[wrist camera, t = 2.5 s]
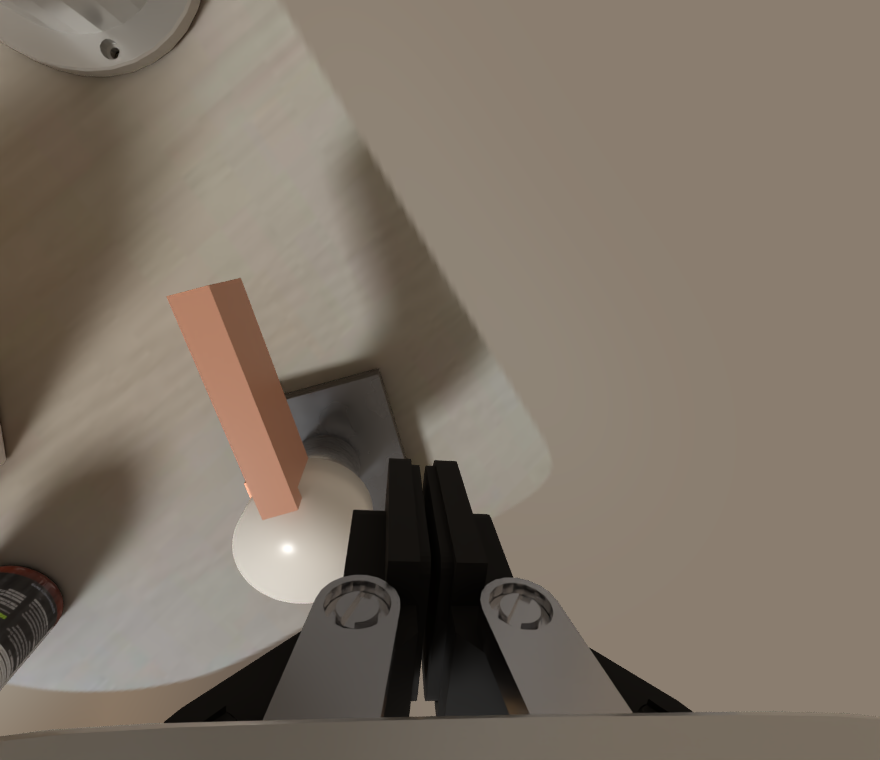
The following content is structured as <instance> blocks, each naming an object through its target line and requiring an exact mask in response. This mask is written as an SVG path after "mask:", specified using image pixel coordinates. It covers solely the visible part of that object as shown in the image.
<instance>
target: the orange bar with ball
mask: <svg viewBox="0 0 880 760" xmlns="http://www.w3.org/2000/svg"><path fill="white" fill-rule="evenodd" d="M166 297H167V299H168V301H169V304H170V306H171V308H172V311H173V313H174V315H175V318H176V320H177V322H178V325H179V327H180V329H181V332H182V334H183V336H184V339H185V341H186V343H187V346H188V348H189V350H190V353H191V355H192V357H193V360H194V362H195V364H196V367H197V369H198V371H199V374H200V376H201V378H202V381H203V383H204V385H205V388H206V390H207V392H208V395H209V397H210V399H211V402H212V404H213V406H214V409H215V411H216V413H217V416H218V418H219V420H220V423H221V425H222V427H223V430H224V432H225V434H226V437H227V439H228V441H229V444H230V446H231V448H232V451H233V453H234V455H235V458H236V460H237V462H238V465H239V467H240V469H241V472H242V474H243V476H244V479H245V481H246V483H247V486H248V488H249V490H250V493H251V495H252V497H251V499H250V500H249V502H248V504H247V506H246V508H245V510H244V512H243V514H242V515H241V517H240V519H239V521H238V523H237V525H236V528H235V531H234V535H233V541H232V549H233V556H234V560H235V563H236V565H237V567H238V569H239V571H240V573H241V574H242V576H243V577H244V578H245V580H246V581H247V582H248V583H249V584H250V585H251V586H253V587H254V588H255V589H257V590H258V591H260V592H261V593H263V594H265V595H267V596H269V597H271V598H273V599H276V600H280V601H284V602H289V603H298V604H304V603H314V601H315V598H316V597H317V595H318V594H319V592H320V591H321V589H323V588H324V587H325V586H326V585H328V584H329V583H330V582H332V581H334V580H337V579H339V578H341V577H343V575H344V568H345V561H346V555H347V548H348V541H349V534H350V528H351V521H352V514H353V510H373V505H372V500H371V496H370V494H369V491H368V489H367V488H366V486H365V484H364V483H363V482H362V480H361V479H360V478H359V477H358V476H357V475H356V474H355V473H354V472H352V471H351V470H349V469H348V468H346V467H344V466H343V465H341V464H338V463H336V462H333V461H329V460H326V459H319V458H308V456H307V453H306V451H305V448H304V445H303V443H302V440H301V437H300V435H299V432H298V429H297V427H296V424H295V421H294V419H293V416H292V413H291V411H290V408H289V405H288V403H287V400H286V397H285V395H284V392H283V389H282V387H281V384H280V381H279V379H278V376H277V373H276V371H275V368H274V365H273V363H272V360H271V357H270V355H269V352H268V349H267V347H266V344H265V341H264V339H263V336H262V333H261V331H260V328H259V325H258V323H257V320H256V317H255V315H254V312H253V309H252V307H251V304H250V301H249V299H248V296H247V293H246V291H245V288H244V285H243V283H242V280H241V278H238V279H234V280H230V281H225V282H221V283H216V284H212V285H208V286H204V287H200V288H196V289H193V290H189V291H185V292H181V293H177V294H174V295H170V296H166Z"/></svg>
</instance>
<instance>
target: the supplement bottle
mask: <svg viewBox="0 0 880 760" xmlns="http://www.w3.org/2000/svg"><path fill="white" fill-rule="evenodd" d="M62 612H63V598H62V595H61V593H60V590H59V589H58V587H57V585H56V584H55V583H54V582H53V581H51V580H50V579H49V578H48V577H47V576H45V575H43V574H42V573H40V572H38V571H35V570H32V569H29V568H25V567H22V566H1V567H0V690H1V689H2V688H3V687H4V686H5V684H6V683H7V682H8V681H9V680H10V679H11V677H12V676H13V675H14V674H15V673H16V671H17V670H18V669H19V668H20V667H21V666H22V664H23V663H24V662H25V661H26V660H27V659H28V657H29V656H30V655H31V654H32V653H33V652H34V650H35V649H36V648H37V647H38V645H39V644H40V643H41V642H42V641H43V640H44V639H45V637H46V636H47V635H48V634H49V632H50V631H51V630H52V628H53V627H54V626H55V625H56V623H57V622H58V621H59V619H60V617H61V615H62Z"/></svg>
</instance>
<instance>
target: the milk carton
mask: <svg viewBox="0 0 880 760" xmlns="http://www.w3.org/2000/svg"><path fill="white" fill-rule="evenodd" d="M5 461H6V457H5V450H4V443H3V437H2V431H1V425H0V466H1V465H2V464H4V463H5Z"/></svg>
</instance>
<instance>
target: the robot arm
mask: <svg viewBox="0 0 880 760" xmlns="http://www.w3.org/2000/svg"><path fill="white" fill-rule="evenodd" d="M200 1H201V0H0V41H1V42H3V43H4V44H5V45H7V46H8V47H10V48H12V49H14V50H16V51H18V52H19V53H21V54H23V55H25V56H27V57H29V58H30V59H32V60H35V61H37V62H39V63H42V64H44V65H47V66H49V67H51V68H54V69H56V70H59V71H63V72H68V73H72V74H77V75H81V76H100V77H110V76H116V75H121V74H126V73H132V72H134V71H137V70H139V69H141V68H143V67H146V66H148V65H150V64H153V63H154V62H156V61H157V60H158V59H160V58H161V57H162V56H164V55H165V54H166V53H168V52H169V51H170V50H172V48H173V47H174V46H175V45H176V44H177V42H178V41H179V40H180V39H181V38H182V36H183V35H184V34H185V33H186V32H187V30H188V28H189V26H190V24H191V22H192V20H193V18H194V16H195V14H196V12H197V10H198V8H199V4H200ZM118 51H119V52H120V53H119V55H118V57H117V58H115V54H116V52H118ZM421 659H422V671H423V685H424V697H425V701H435V710H436V716H430V717H409V713H410V703H411V701H416V700H417V695H418V686H419V677H420V668H421ZM0 760H880V717H876V716H866V715H858V714H850V713H814V712H813V713H812V712H777V711H772V712H771V711H770V712H692V711H691V710H690V709H688V708H687V707H685V706H684V705H683V704H681V703H680V702H679V701H677V700H676V699H674V698H672V697H671V696H669V695H667V694H666V693H664V692H662V691H660V690H659V689H657V688H656V687H654V686H652V685H651V684H649V683H647V682H646V681H644V680H642V679H641V678H639V677H637V676H636V675H634V674H632V673H631V672H629V671H627V670H626V669H624V668H622V667H621V666H619V665H617V664H616V663H614V662H612V661H611V660H609V659H608V658H606V657H604V656H602V655H601V654H599V653H598V652H596V651H594V650H593V649H591V648H589V647H588V646H587V644H586V643H585V641H584V640H583V638H582V637H581V635H580V634H579V632H578V631H577V630H576V628H575V626H574V625H573V623H572V622H571V620H570V619H569V617H568V616H567V614H566V613H565V611H564V610H563V608H562V607H561V605H560V604H559V603H558V601H557V600H556V599H555V598H554V596H553V595H552V594H551V593H550V592H549V591H547V590H546V589H544V588H543V587H541V586H540V585H538V584H535V583H533V582H531V581H529V580H524V579H520V578H513V576H512V573H511V570H510V568H509V565H508V562H507V560H506V557H505V554H504V552H503V549H502V546H501V544H500V541H499V539H498V536H497V533H496V530H495V528H494V525H493V522H492V519H491V517H490V516H489V515H488V514H473V513H472V509H471V506H470V503H469V500H468V497H467V493H466V490H465V487H464V484H463V480H462V477H461V474H460V471H459V468H458V464H457V462H456V461H438V460H434V463H433V466H426V467H425V473H424V483H423V490H422V482H421V475H420V467H419V465H412V464H411V459H397V458H389V463H388V475H387V488H386V501H385V511H380V510H353V514H352V521H351V528H350V534H349V541H348V548H347V555H346V561H345V568H344V575H343V577H341V578H339V579H337V580H334V581H332V582H330V583H329V584H328V585H326V586H325V587H324V588H323V589H321V591H320V592H319V594H318V595H317V597H316V598H315V601H314V603H313V605H312V608H311V610H310V612H309V615H308V617H307V619H306V621H305V624H304V626H303V628H302V631H301V632H299V633H298V634H296V635H294V636H293V637H291V638H290V639H288V640H287V641H285V642H283V643H282V644H280V645H279V646H278V647H276V648H274V649H273V650H271V651H270V652H268V653H266V654H265V655H263V656H262V657H260V658H259V659H257V660H255V661H254V662H252V663H251V664H249V665H248V666H246V667H245V668H243V669H241V670H240V671H238V672H237V673H235V674H234V675H232V676H231V677H229V678H227V679H226V680H224V681H223V682H221V683H220V684H218V685H217V686H215V687H214V688H212V689H211V690H209V691H207V692H206V693H204V694H203V695H201V696H200V697H198V698H197V699H195V700H193V701H192V702H190V703H189V704H187V705H186V706H184V707H182V708H181V709H180V710H178V711H177V712H176V713H175V714H174V715H172V716H171V717H170V718H168V719H167V720H166V721H165V722H164V723H155V724H135V725H119V726H103V727H87V728H72V729H56V730H45V731H37V732H29V733H22V734H15V735H8V736H0Z"/></svg>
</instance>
